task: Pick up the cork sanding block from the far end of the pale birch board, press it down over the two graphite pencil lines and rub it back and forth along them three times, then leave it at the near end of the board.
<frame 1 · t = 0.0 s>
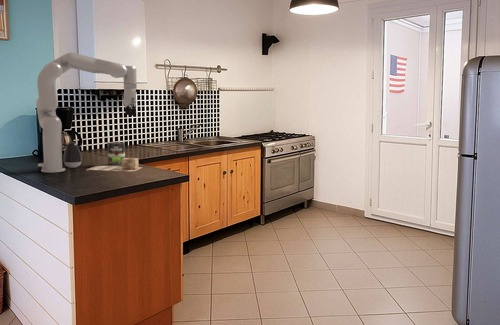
hand: (130, 115, 273), 31 cm above the countertop, tool pointing down, fingers open, 9 cm apart
sanding block: (130, 169, 258), point 1 cm above the countertop, touching board
coffee can: (116, 165, 279), on the countertop
board: (115, 170, 259), on the countertop
grey egg shaped speaker: (72, 167, 268), on the countertop
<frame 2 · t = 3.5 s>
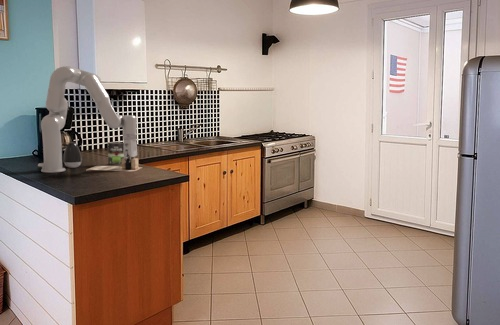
hand: (130, 168, 258), 2 cm above the countertop, tool pointing down, fingers closed on sanding block, 5 cm apart
sanding block: (130, 169, 258), point 1 cm above the countertop, touching board, gripper
everything else where it was.
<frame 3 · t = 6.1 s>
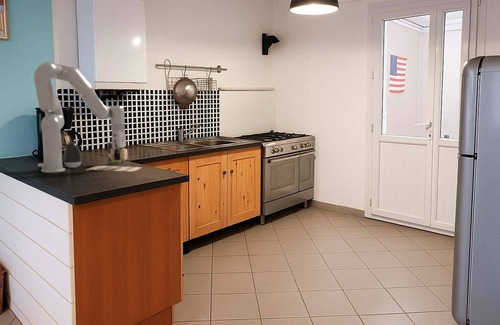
hand: (119, 158, 258), 7 cm above the countertop, tool pointing down, fingers closed on sanding block, 5 cm apart
sanding block: (119, 159, 258), point 6 cm above the countertop, touching gripper
everything else where it was.
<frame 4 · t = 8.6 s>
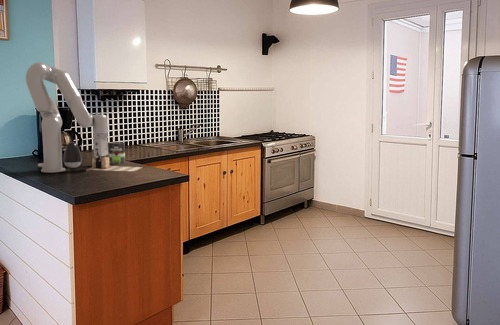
hand: (100, 167, 260), 2 cm above the countertop, tool pointing down, fingers closed on sanding block, 5 cm apart
sanding block: (101, 167, 260), point 1 cm above the countertop, touching gripper
everything else where it was.
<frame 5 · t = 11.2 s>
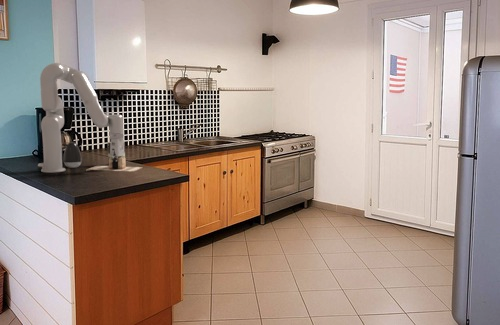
hand: (117, 167, 259), 2 cm above the countertop, tool pointing down, fingers closed on sanding block, 5 cm apart
sanding block: (117, 168, 259), point 1 cm above the countertop, touching gripper
everything else where it was.
when the fingers open (2 cm above the countertop, at t = 13.8 s): sanding block stays where it is, resting on board.
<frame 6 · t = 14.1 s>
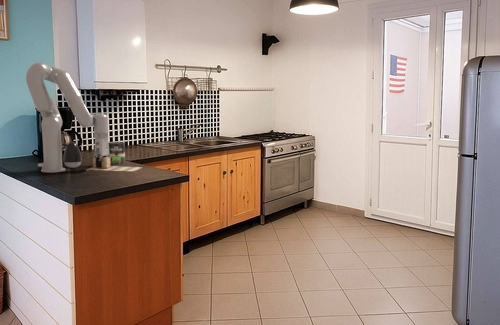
hand: (101, 166, 260), 2 cm above the countertop, tool pointing down, fingers open, 7 cm apart
sanding block: (101, 167, 260), point 1 cm above the countertop, touching board
everything else where it was.
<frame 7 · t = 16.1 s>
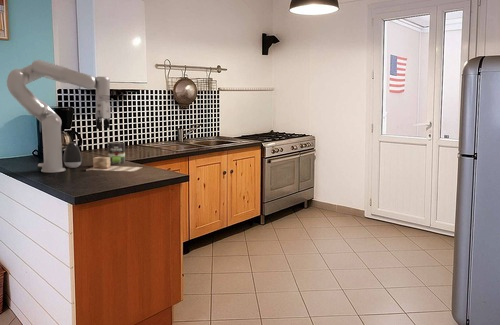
hand: (102, 128, 258), 24 cm above the countertop, tool pointing down, fingers open, 9 cm apart
nothing on the countertop moved.
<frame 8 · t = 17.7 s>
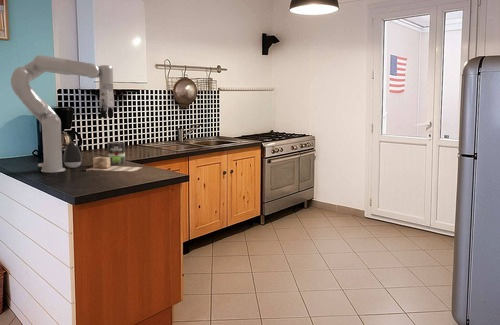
hand: (107, 117, 259), 30 cm above the countertop, tool pointing down, fingers open, 9 cm apart
nothing on the countertop moved.
at the end: sanding block inside the target area on the board (0.0 cm from its centre), point 1.2 cm above the board's base; sanding block tilted 0°; the gripper is holding nothing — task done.
